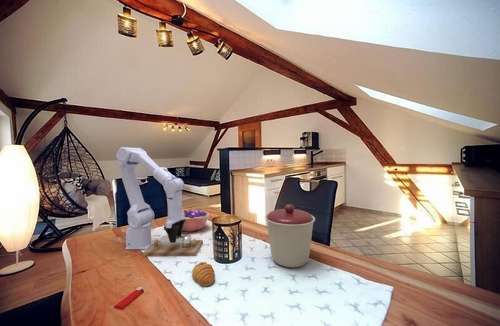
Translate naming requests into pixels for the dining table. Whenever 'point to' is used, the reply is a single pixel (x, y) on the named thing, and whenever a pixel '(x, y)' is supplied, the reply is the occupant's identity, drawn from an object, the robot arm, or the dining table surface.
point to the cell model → (194, 219)
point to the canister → (290, 235)
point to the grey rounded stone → (181, 241)
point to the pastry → (203, 274)
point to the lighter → (129, 298)
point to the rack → (173, 249)
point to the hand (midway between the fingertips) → (175, 239)
